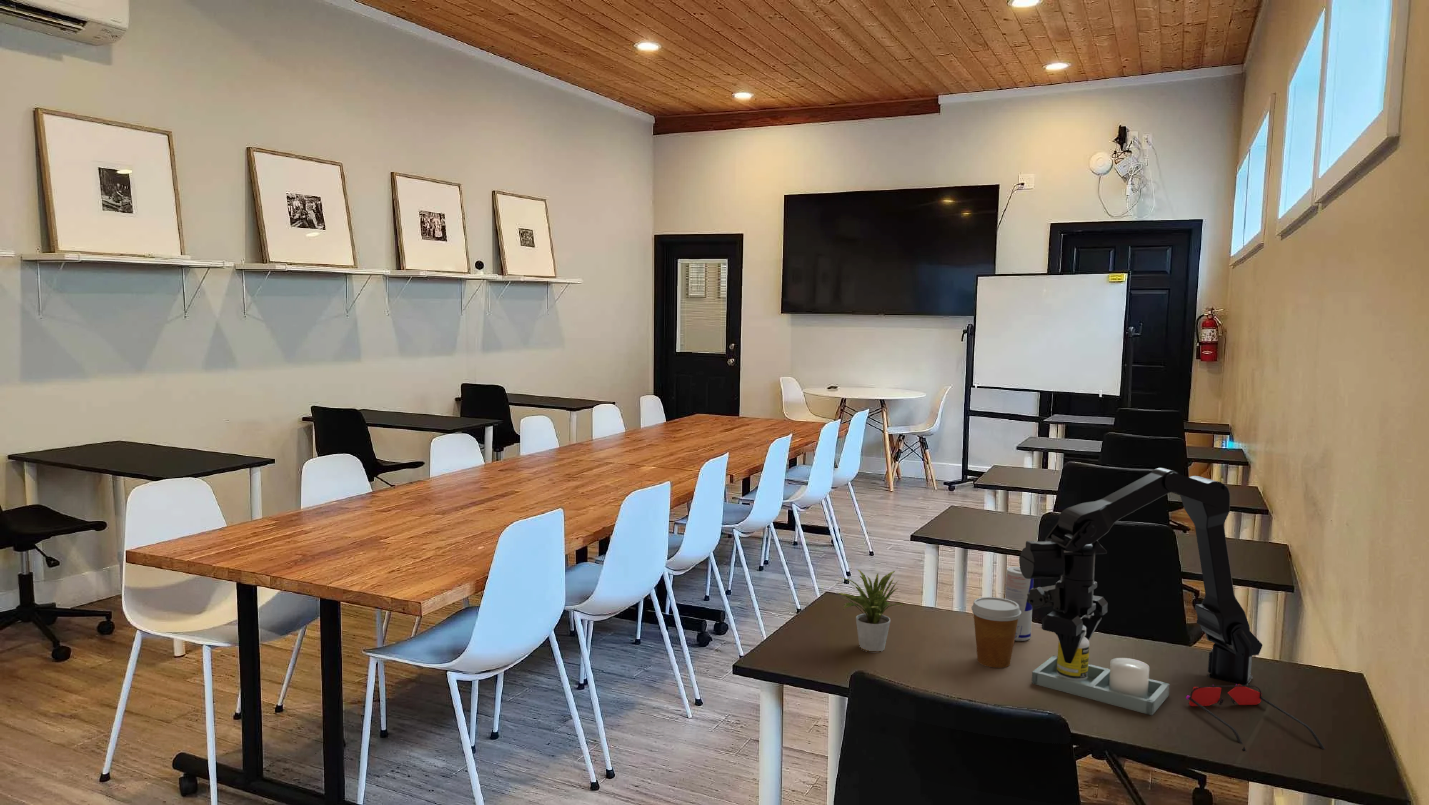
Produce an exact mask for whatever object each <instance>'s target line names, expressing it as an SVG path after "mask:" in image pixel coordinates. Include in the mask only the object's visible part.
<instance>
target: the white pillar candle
mask: <svg viewBox="0 0 1429 805" xmlns="http://www.w3.org/2000/svg"><path fill="white" fill-rule="evenodd" d="M1109 664H1110V665H1109V666H1110V667H1109V669H1110V680H1109V690H1113V691H1117V692H1121V693H1125V694H1129V695H1133V696H1137V697H1141V698H1145V699H1148V683H1149V679H1150V666H1149V664H1147V663H1146V662H1143V661H1141V660H1138V659H1134V658H1129V657H1116V658H1115V657H1114V658H1113V659H1110V663H1109Z"/></svg>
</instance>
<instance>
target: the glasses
mask: <svg viewBox="0 0 1429 805" xmlns="http://www.w3.org/2000/svg"><path fill="white" fill-rule="evenodd" d="M1231 687H1232V689H1230V690H1229V691H1228V692H1227V695H1229V696H1230V697H1231V698H1230V701H1231V703H1232V704H1233V705H1236V704H1237V705H1239V706H1247V705H1248V706H1249V705H1251V706H1253V705H1254V706H1255V705H1259V704H1260V703H1261V702H1262V701H1263V702H1265V703H1267V704H1268V705H1270V706H1271V707H1273V708H1274V709H1276V710H1278V711H1279V712H1281V713H1283V714H1284V715H1286V716H1288V717H1289V718H1290V719H1292V720H1294V721H1296V722H1297V723H1299V724H1301V725H1302V726H1303V727H1305V728H1306V729H1307V730H1308V732H1310V734H1311V736H1312V737H1313V738H1314V740H1315V742H1316V744H1318V746H1319V748H1320V749H1322V750H1326V747H1325V746H1324V745H1323V743H1322V742H1321V740H1320V739H1319V737H1318V736H1317V734H1316V733H1315V732H1314V730H1313V729H1312V728H1311V727H1310V726H1309V725H1308V724H1306V723H1304V721H1302V720H1299V719H1298V718H1297V717H1295V716H1293V715H1292V714H1290V713H1289V712H1287V711H1285V710H1283V709H1282V708H1280V707H1279V706H1277V705H1275V704H1274V703H1272V702H1271V701H1269V700H1268V699H1266V698H1264V697H1262V696H1263V693H1262V690H1261V688H1260V687H1258V686H1256V685H1252V684H1248V685H1240V684H1235V685H1214V684H1212V685H1204V686H1203V685H1202V686H1193V688H1192V691H1191V693H1190V695H1186V696H1185V699H1186V700H1188V705H1189V707H1199V708H1200V709H1202V710H1204V712H1206V713H1207V714H1209V715H1210V716H1212V717H1213V718H1215V719H1216V720H1218V721H1219V722H1220V723H1221V724H1223V725H1225V726H1226V727H1227V728H1229V729H1230V730H1231V731H1232V732H1233V734H1234V735H1235V737H1236V740H1237V742H1238V744H1240V745H1243V741H1242V739H1241V737H1240V734H1239V733H1238V731H1237V730H1236V729H1235V728H1234V727H1233V726H1232V725H1230V724H1229V723H1227V722H1226V721H1224V720H1223V719H1222V718H1220V717H1219V716H1218V715H1216V714H1215V713H1213V712H1212V711H1210V710H1209V709H1207V708H1206V707H1208V706H1211V705H1214V704H1217V703H1219V704H1218V705H1219V706H1221V705H1223V703H1224V701H1225V700H1224V698H1221V694H1222V693H1221V692H1222V688H1231ZM1250 687H1252V688H1256V689H1258V690H1259V691H1258V690H1256V689H1252V688H1250ZM1205 706H1206V707H1205ZM1242 751H1243V752H1244V751H1246V752H1247V749H1246V747H1245V746H1243V748H1242Z"/></svg>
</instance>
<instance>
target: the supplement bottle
mask: <svg viewBox="0 0 1429 805" xmlns="http://www.w3.org/2000/svg"><path fill="white" fill-rule="evenodd" d="M1082 630H1085V634H1084V636H1085V635H1086V627H1085V626H1084V625H1083V628H1082ZM1084 636H1083V638H1082V640H1081V643H1080V645H1079V647H1078V650H1077V652H1076V654H1075V656H1074V659H1073V661H1072V663H1066V662H1065V660H1064V656H1063V653H1062V649H1061V645H1060V642H1059V641H1057V642H1058V645H1057V656H1058V660H1057V675H1058V676H1059V677H1063V678H1067V679H1071V680H1074V681H1084V680H1086V679H1087V676H1088V664H1089V658H1090V640H1088V639H1087V638H1086V637H1084Z"/></svg>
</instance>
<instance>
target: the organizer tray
mask: <svg viewBox="0 0 1429 805" xmlns="http://www.w3.org/2000/svg"><path fill="white" fill-rule="evenodd" d="M1057 660H1058V655H1052V656H1051V657H1050V658H1048V659H1047V660H1045V661H1044V662H1043V663H1042V664H1041V665H1039V666H1038V667H1037V668H1035V669H1034V670H1032V671H1031V672H1032V673H1031V685H1036V686H1039V687H1044V688H1048V689H1050V690H1056V691H1059V692H1062V693H1066V694H1070V695H1073V696H1078V697H1080V698H1081V697H1082V698H1084V699H1089V700H1093V701H1096V702H1099V703H1100V702H1101V703H1102V704H1107V705H1111V706H1115V707H1119V708H1123V709H1127V710H1130V711H1135V712H1138V713H1142V714H1145V715H1149V716H1153V715H1154V714H1155V713H1156V711H1158V709H1159V708H1160V707H1161V706H1162V704H1163V703H1164V702H1165V701H1166V700H1167V699H1168V697H1169V696H1170V683H1167V682H1165V681H1164V682H1163V681H1160V680H1155V679H1152V678H1149V683H1148V699H1145V698H1141V697H1137V696H1133V695H1129V694H1125V693H1121V692H1117V691H1113V690H1109V680H1110V668H1107V667H1101V666H1100V665H1099V666H1098V665H1095V664H1090V663H1088V676H1087V679H1086V680H1084V681H1074V680H1071V679H1067V678H1063V677H1059V676H1058V675H1057Z"/></svg>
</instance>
